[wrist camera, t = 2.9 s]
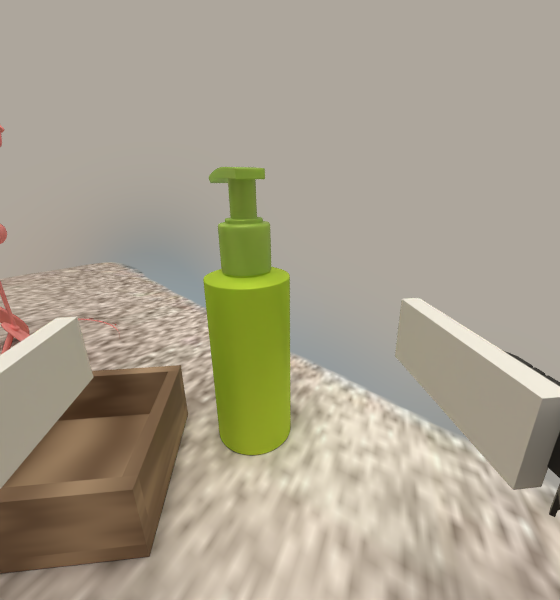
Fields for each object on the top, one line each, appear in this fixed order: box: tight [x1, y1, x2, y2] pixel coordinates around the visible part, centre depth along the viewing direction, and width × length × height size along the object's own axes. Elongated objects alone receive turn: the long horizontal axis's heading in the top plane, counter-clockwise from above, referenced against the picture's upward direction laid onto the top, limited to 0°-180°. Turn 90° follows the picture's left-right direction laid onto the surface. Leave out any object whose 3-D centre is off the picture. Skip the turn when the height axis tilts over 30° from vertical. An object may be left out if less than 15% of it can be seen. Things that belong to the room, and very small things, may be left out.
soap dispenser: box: [204, 167, 290, 455], centre depth 23 cm, size 6×7×20 cm
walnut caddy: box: [0, 365, 188, 573], centre depth 21 cm, size 11×11×5 cm
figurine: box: [0, 125, 120, 354], centre depth 34 cm, size 15×26×35 cm, turn 49°
